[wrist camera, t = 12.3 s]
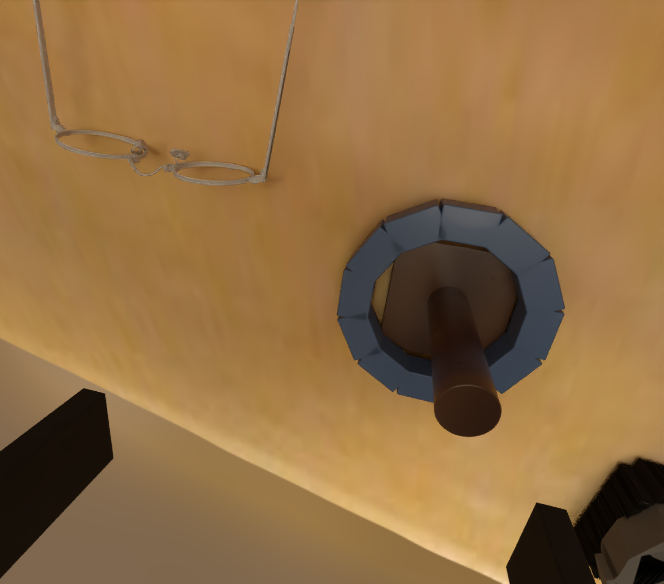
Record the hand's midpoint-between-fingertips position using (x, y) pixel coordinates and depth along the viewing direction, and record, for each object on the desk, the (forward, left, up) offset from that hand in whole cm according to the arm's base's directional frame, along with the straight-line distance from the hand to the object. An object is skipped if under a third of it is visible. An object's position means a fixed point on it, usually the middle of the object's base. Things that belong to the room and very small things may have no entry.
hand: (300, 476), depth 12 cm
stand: (+6, 0, -17) cm, 18 cm away
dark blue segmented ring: (+5, 0, -16) cm, 17 cm away
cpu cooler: (+25, -14, -17) cm, 33 cm away
